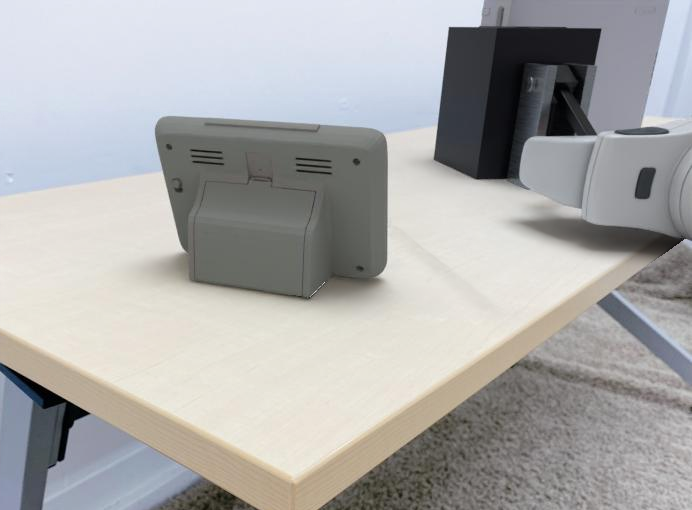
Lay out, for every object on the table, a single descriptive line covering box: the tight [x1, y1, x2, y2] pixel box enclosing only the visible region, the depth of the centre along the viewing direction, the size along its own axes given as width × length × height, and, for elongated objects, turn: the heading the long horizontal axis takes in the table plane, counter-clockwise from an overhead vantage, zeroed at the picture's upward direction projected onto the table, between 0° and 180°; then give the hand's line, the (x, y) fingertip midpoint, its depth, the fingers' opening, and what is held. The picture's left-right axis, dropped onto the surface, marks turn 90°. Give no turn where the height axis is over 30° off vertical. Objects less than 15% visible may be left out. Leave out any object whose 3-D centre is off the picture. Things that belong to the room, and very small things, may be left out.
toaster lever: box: [551, 65, 598, 136], centre depth 67 cm, size 11×6×2 cm
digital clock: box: [154, 115, 389, 298], centre depth 48 cm, size 16×9×11 cm, turn 55°
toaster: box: [433, 25, 602, 181], centre depth 78 cm, size 12×11×16 cm
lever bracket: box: [506, 63, 597, 190], centre depth 71 cm, size 5×7×13 cm
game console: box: [479, 0, 671, 135], centre depth 93 cm, size 6×27×20 cm, turn 115°
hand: (597, 146), depth 63 cm, fingers open, 8 cm apart
